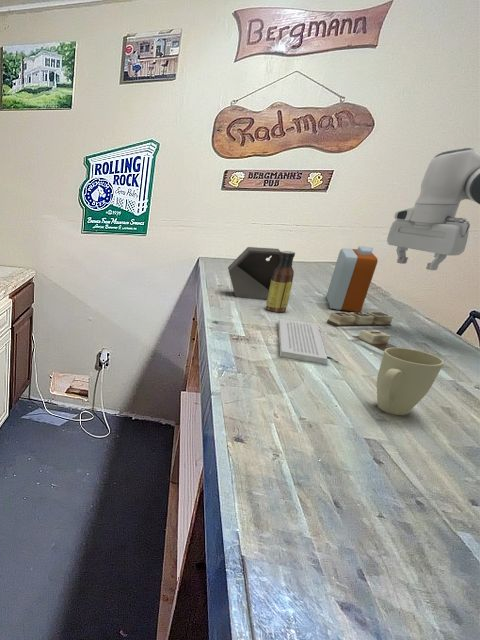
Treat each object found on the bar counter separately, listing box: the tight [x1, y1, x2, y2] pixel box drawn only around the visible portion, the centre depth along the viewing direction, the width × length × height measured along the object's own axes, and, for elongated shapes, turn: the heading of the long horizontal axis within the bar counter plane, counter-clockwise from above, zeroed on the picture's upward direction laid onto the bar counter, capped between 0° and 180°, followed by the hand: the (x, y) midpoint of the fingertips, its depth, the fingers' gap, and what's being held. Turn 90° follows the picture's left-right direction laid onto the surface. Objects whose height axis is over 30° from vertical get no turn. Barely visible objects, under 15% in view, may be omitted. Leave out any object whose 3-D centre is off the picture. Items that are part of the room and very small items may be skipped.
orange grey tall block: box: [326, 245, 378, 312], centre depth 159 cm, size 18×9×21 cm, turn 150°
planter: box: [227, 246, 282, 300], centre depth 170 cm, size 17×8×21 cm
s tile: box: [347, 311, 374, 324], centre depth 142 cm, size 5×5×3 cm
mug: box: [376, 347, 445, 416], centre depth 91 cm, size 11×10×12 cm
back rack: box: [326, 311, 394, 328], centre depth 142 cm, size 17×6×4 cm, turn 93°
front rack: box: [351, 329, 399, 352], centre depth 123 cm, size 6×16×4 cm, turn 3°
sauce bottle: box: [265, 250, 296, 313], centre depth 153 cm, size 6×6×20 cm
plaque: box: [277, 318, 328, 365], centre depth 129 cm, size 30×2×10 cm
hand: (415, 266), depth 128 cm, fingers open, 8 cm apart
